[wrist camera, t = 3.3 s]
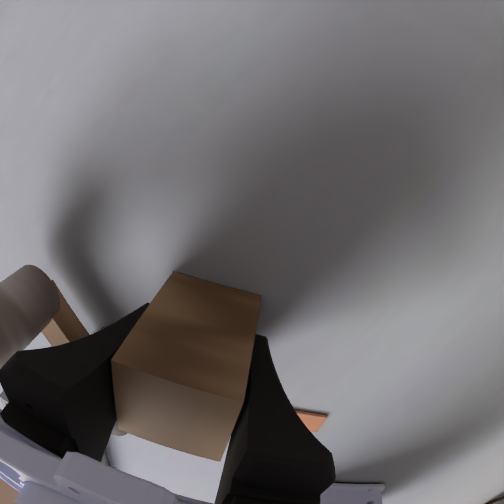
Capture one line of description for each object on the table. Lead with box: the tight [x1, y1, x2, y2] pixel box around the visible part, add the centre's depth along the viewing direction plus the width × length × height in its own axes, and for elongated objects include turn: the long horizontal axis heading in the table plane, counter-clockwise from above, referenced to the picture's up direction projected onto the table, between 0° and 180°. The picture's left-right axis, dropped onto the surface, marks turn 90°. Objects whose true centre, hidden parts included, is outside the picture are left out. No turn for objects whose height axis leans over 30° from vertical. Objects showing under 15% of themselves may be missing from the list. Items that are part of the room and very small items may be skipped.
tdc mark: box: [295, 410, 327, 432], centre depth 17 cm, size 3×2×1 cm, turn 76°
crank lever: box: [0, 265, 127, 436], centre depth 12 cm, size 10×3×6 cm, turn 26°
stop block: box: [111, 271, 262, 461], centre depth 12 cm, size 4×4×6 cm
